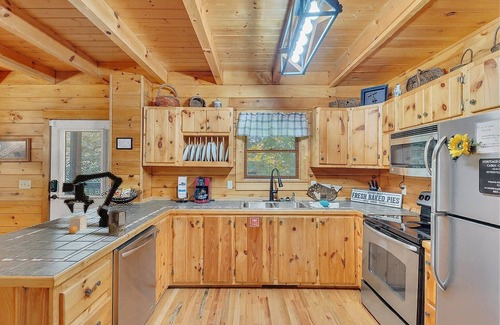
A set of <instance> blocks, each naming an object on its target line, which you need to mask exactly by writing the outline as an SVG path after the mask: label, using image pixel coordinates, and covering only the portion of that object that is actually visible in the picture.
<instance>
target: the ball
mask: <svg viewBox="0 0 500 325" xmlns="http://www.w3.org/2000/svg"><path fill="white" fill-rule="evenodd" d="M77 230H78V229H77V227H75V226H72V227H70V228H69V227H68V233H70V234H71V235H74V234H77V232H78V231H77Z"/></svg>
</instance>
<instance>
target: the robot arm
mask: <svg viewBox="0 0 500 325" xmlns="http://www.w3.org/2000/svg"><path fill="white" fill-rule="evenodd" d="M103 178H109V179H110V180H111V187H110V189H109V190H108V193H107V195H106V197H105V199H104V202H103V203H102V205H99V206H98V208H97V209H96V214H97V216H99V217H100V218H99V220H98V226H97V227H98V228H109V206H110V205H111V202H112V201H113V198H114V196H115V194H116V192H117V190H118V189H119V187H120V186H121V185H122V184H123V183H124V182H123V178H122V177H120V176H117V175H115V174H114V173H112V172H111V171H103V172H97V173H90V174H85V173H81V174H80V173H78V174H76V175H75V176H74V179H73V180H72V181H71V182H62V187H61V193H72V192H73V191H74V192H73V196H74V198H65V199H64V200H63V204H65V205H66V206H67V207H68V209H69V211H70V213H71V214H74V211H75V210H74V207H75V203H79V204H80V203H81V204H83V213H84V214H86V213H87V211H88V210H89V209H88V208H90V206H92V205H93V204H95V200H94V199H92V198H90V195H87V194H86V192H85V186H88V184H87V183H86V182H88V181H91V180H95V179H103Z"/></svg>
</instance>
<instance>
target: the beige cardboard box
mask: <svg viewBox="0 0 500 325" xmlns="http://www.w3.org/2000/svg"><path fill="white" fill-rule="evenodd" d="M68 220H69V223H68V229H69V228H70V227H72V226H75V227H77V229H78V230H77V232H81V231H83V230H86V229H87V228H88V216H87V215H75V216H71V217H69V219H68Z"/></svg>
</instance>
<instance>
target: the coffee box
mask: <svg viewBox="0 0 500 325" xmlns="http://www.w3.org/2000/svg"><path fill="white" fill-rule="evenodd" d="M108 215H109V226H108V232H107V233H108V236H113V235H114V237H121V236H124V235H126V222H127V221H126V219H127V218H126V217H127V211H126V210H119V209H118V210H117V209H116V210H111V211H108Z"/></svg>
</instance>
